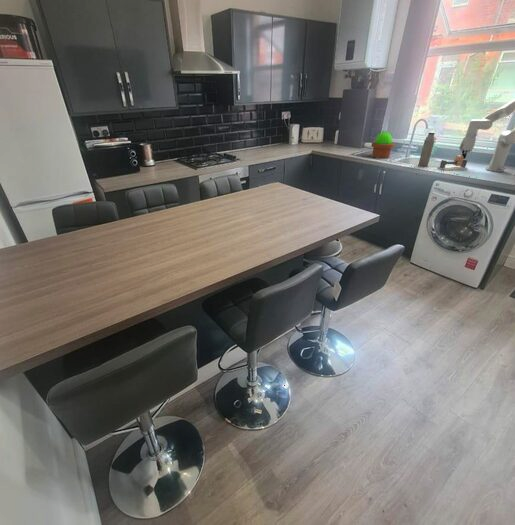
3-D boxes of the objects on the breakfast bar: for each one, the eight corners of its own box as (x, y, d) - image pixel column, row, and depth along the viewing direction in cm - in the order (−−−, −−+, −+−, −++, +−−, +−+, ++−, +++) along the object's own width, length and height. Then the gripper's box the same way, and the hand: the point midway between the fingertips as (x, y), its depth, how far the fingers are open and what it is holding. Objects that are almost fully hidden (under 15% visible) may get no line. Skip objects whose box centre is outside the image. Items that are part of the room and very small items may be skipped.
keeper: (461, 165, 256) (464, 156, 252) (456, 166, 255) (460, 156, 251) (456, 164, 260) (459, 155, 256) (452, 164, 259) (455, 155, 255)
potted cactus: (389, 159, 296) (395, 132, 283) (367, 157, 306) (371, 131, 293) (393, 155, 312) (398, 130, 299) (372, 154, 322) (376, 129, 310)
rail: (467, 169, 255) (470, 160, 252) (444, 170, 253) (447, 161, 249) (458, 166, 264) (461, 158, 260) (436, 168, 261) (439, 159, 258)
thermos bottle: (416, 164, 273) (424, 132, 259) (424, 164, 273) (433, 132, 259) (420, 166, 266) (429, 133, 252) (429, 166, 267) (438, 133, 252)
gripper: (475, 135, 250) (467, 157, 259) (459, 135, 248) (452, 157, 257) (482, 136, 244) (474, 159, 253) (466, 136, 242) (458, 159, 251)
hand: (463, 158), depth 255 cm, fingers closed
